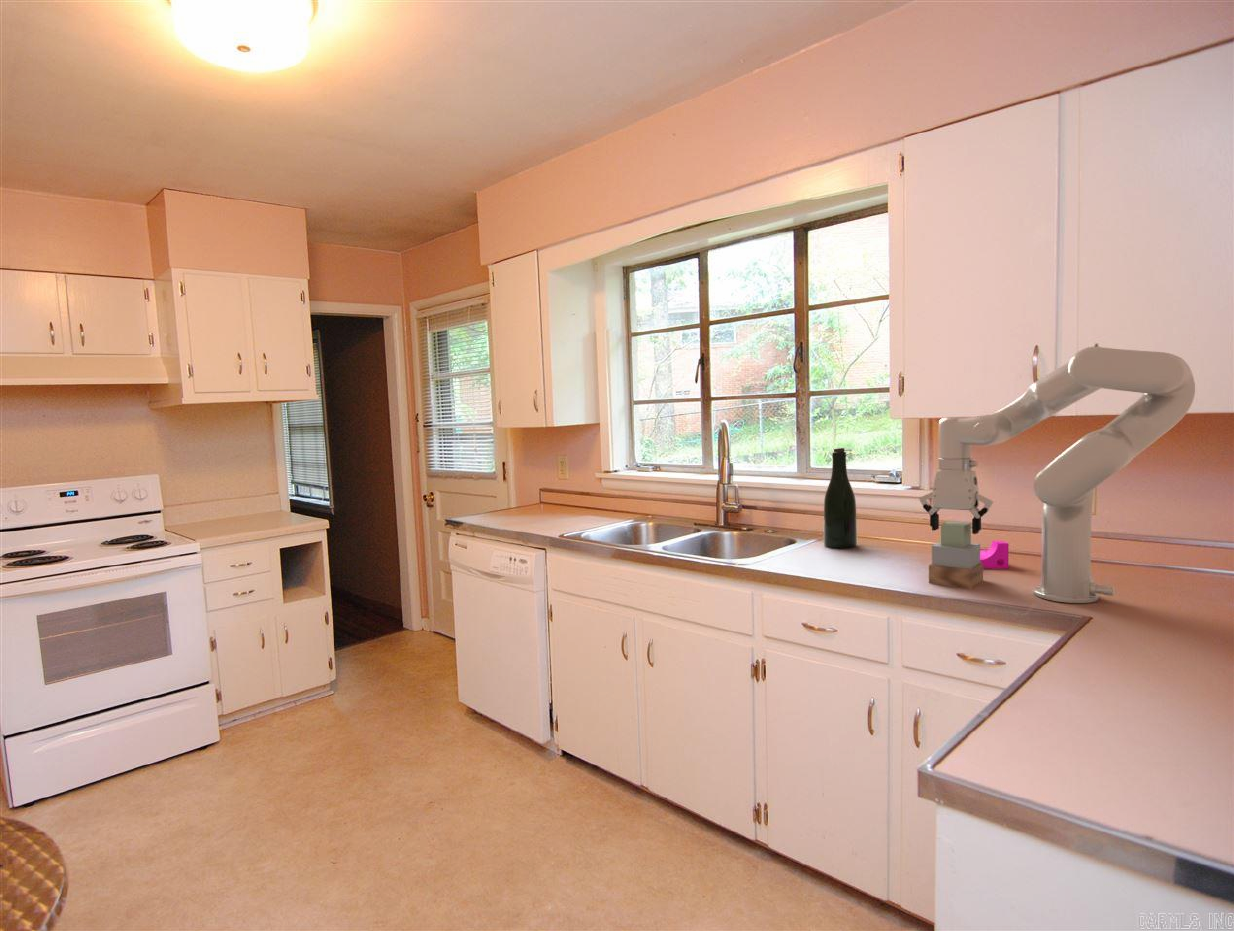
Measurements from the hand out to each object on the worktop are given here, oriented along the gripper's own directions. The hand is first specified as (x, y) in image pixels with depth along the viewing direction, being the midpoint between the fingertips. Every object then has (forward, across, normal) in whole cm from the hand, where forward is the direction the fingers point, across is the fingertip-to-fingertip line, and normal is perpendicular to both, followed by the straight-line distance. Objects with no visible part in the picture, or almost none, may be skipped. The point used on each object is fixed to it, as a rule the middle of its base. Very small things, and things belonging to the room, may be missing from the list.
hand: (955, 531), depth 171 cm
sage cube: (+3, 0, 0) cm, 3 cm away
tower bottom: (+13, 0, 0) cm, 13 cm away
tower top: (+8, 0, 0) cm, 8 cm away
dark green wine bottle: (+13, +43, -25) cm, 51 cm away
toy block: (+14, +1, -19) cm, 24 cm away
